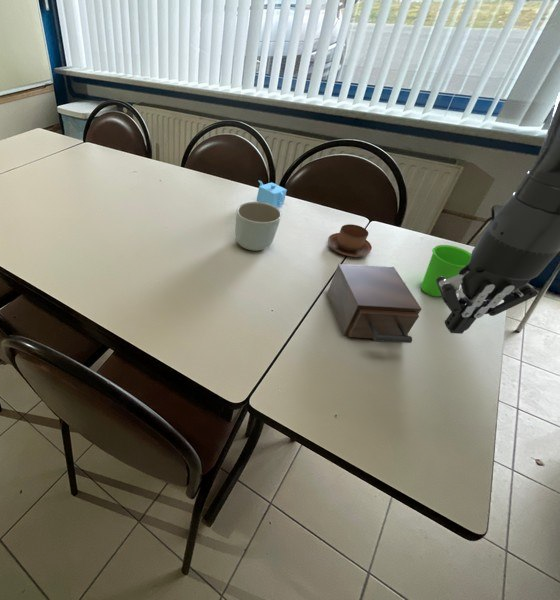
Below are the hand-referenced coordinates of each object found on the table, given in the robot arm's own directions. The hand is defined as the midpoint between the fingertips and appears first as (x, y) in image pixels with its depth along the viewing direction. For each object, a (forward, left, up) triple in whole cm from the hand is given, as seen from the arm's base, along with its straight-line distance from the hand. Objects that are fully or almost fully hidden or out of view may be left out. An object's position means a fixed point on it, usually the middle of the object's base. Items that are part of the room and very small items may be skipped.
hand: (453, 329), depth 58 cm
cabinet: (+23, 0, -19) cm, 30 cm away
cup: (+34, -21, -19) cm, 44 cm away
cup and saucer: (+52, -5, -19) cm, 56 cm away
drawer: (+19, 0, -18) cm, 26 cm away
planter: (+52, +23, -19) cm, 60 cm away
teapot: (+79, +15, -19) cm, 83 cm away
